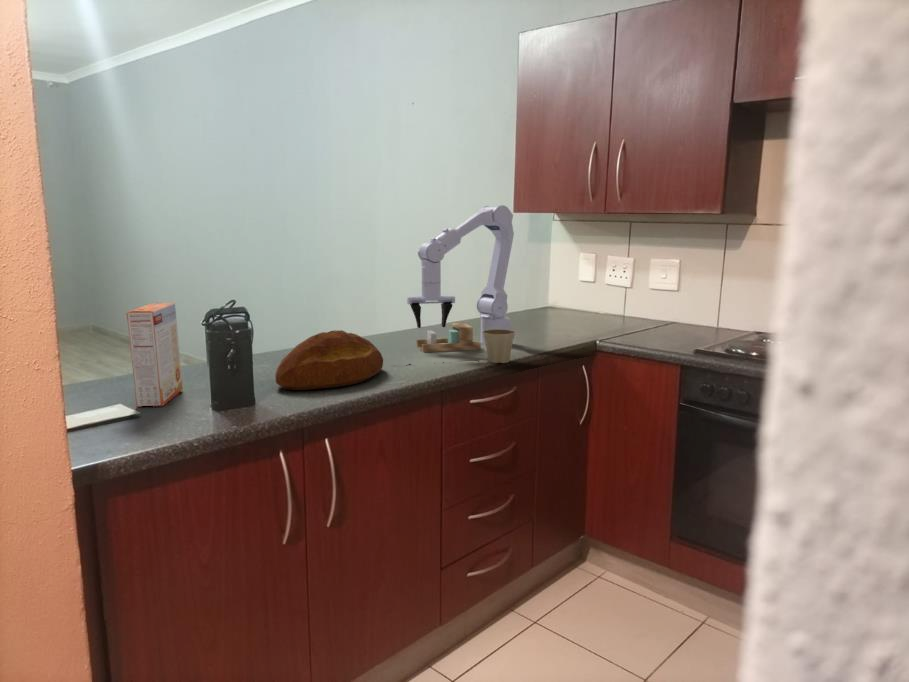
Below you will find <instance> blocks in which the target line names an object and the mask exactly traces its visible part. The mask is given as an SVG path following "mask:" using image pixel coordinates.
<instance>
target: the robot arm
mask: <svg viewBox="0 0 909 682" xmlns="http://www.w3.org/2000/svg"><path fill="white" fill-rule="evenodd" d="M513 218H514V214H513V213H512V212H511V209H510V208H508V206H506V205H503V204H501V205H498V206H497V205H491V206H489V205H485V206H483V207H482V208H480V209H478V210H476V211H475V212H474V213H473V214H472V215H471V216H470V217H468V218H467V219H466V220H464V221H463V222H462V223H461V224H459V225H458V226H457V227H455V228H452V227H449V228H446V227H445V228H443V229H442V233H440V234H439V235H437V236H436V237H431V238H430V242H424V243H422V244H421V245H420V247H419V250H418V251H417V256H418V258H419V259H420V261H421V296H410V297H409V296H408V297H406V303H407V304H406V305H410V308H411V310H412V312H413V315H414V318H415V321H416V326H417V329H420V328H422V323H421V321H422V320H421V313H422V306H421V305H423V304H424V305H430V304H440V306H441V307H440V308H441V327H442V328H446V326H447V320H448V318H449V315H450V313H451V310H452V308H453V304H456V296H453V295H452V296H451V295H450V296H449V295H447V296H445V295H443V296H441V294H442V293H441V289H442V288H441V286H442V284H441V283H442V282H441V281H442V279H441V278H442V277H441V276H442V275H441V274H442V273H441V271H442V270H441V267H442V266H441V261H443V259H444V257H445V255H446V254H447V253H449V252H450V251H451V250H453V249H454V248H456V247H457V246H458V245H460V244H461V241H462V238H463V237H465V236H466V235H468V234H469V233H472V232H473V231H475V230H476V229H477V228H479V227H481V226H484V227H485V228H486V229H487V230H489V231H490V232H491V233H492V234H493V236H494V237H495V241H494V246H493V250H492V256H491V262H490V267H489V271H488V272H489V273H488V277H487V282H486V286H485V287H484V288H483V289H482V290H481V292H480V293H481V294H480V296H479V298H478V300H477V301H476V310H477V312H478V313H479V315H480V342H481V344H485V345H486V341H485V338H484V333H483V331H484V330H490V329H505V330H512V324H511V318H509V317H507V316H505V315H506V314H507V312H508V309H509V307H508V305H509V304H508V294H507V293H506V290H505V285H506V284H505V283H506V279H507V272H508V267H509V263H510V262H509V261H510V256H511V251H512V248H513V247H512V246H513V242H514V236H515V233H514V227H513V226H514V225H513Z"/></svg>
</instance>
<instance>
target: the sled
mask: <svg viewBox="0 0 909 682" xmlns="http://www.w3.org/2000/svg"><path fill="white" fill-rule="evenodd" d="M436 338H437V333H436V332H435V331H434V330H426V339H427V344H436Z"/></svg>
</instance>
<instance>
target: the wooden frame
mask: <svg viewBox="0 0 909 682" xmlns="http://www.w3.org/2000/svg"><path fill="white" fill-rule="evenodd" d="M457 329H459V343H448V337H446V338H445V337H442V338H441V337H439V338H437V337H436V344H427V338H420V339H419V338H418V339H415V341H416V343H415V344H416V345H415V346H416V347H417V348H418V349H419V350H420V351H421V352H422V353H432V352H434V353H435V352H453V351H471V350H473V351H475V350H476V351H477V350H481V345H482V343H481V341H473V339H474V337H473V336H474V332H473V331H474V328H473V326H472V325H469V324H467V323H466V322H452V323H451V330H457Z"/></svg>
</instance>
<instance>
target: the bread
mask: <svg viewBox="0 0 909 682" xmlns="http://www.w3.org/2000/svg"><path fill="white" fill-rule="evenodd" d="M383 367H384V357H383V355H382V353H381V352H380V350H379V349H378V348H377V346H375V344H373V342H371V341H370V340H368V339H366V338H365V337H362V336H360V335H359V334H356V333H353V332H346V331H344V330H341V329H340V330H330V331H328V332H326V331H324V332H319V333H317V334H314V335H312V336H310V337H308V338H306V339H305V340H303V341H302V342H299V344H297V345H296V346H295V347H294V348H293V349H292V350H291V351H290V352H289V353H288V354H286V355H285V356H284V358H282V360H281V361H280V363H279V365H278V366H277V368H276V370H275V374H274V376H275V383H276V384H277V385H278V386H279V387H281V388H282V389H285V390H286V389H287V390H292V391H307V390H308V391H309V390H318V389H329V388H330V389H331V388H341V386H342V387H346V385H347V386H351V385H355V384H360V383H362V382H364V381H366V380H368V379H370V378H372V377H373V376H375V375H377V374H378V373H379V372H380V371H381V370H383V369H382V368H383Z"/></svg>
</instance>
